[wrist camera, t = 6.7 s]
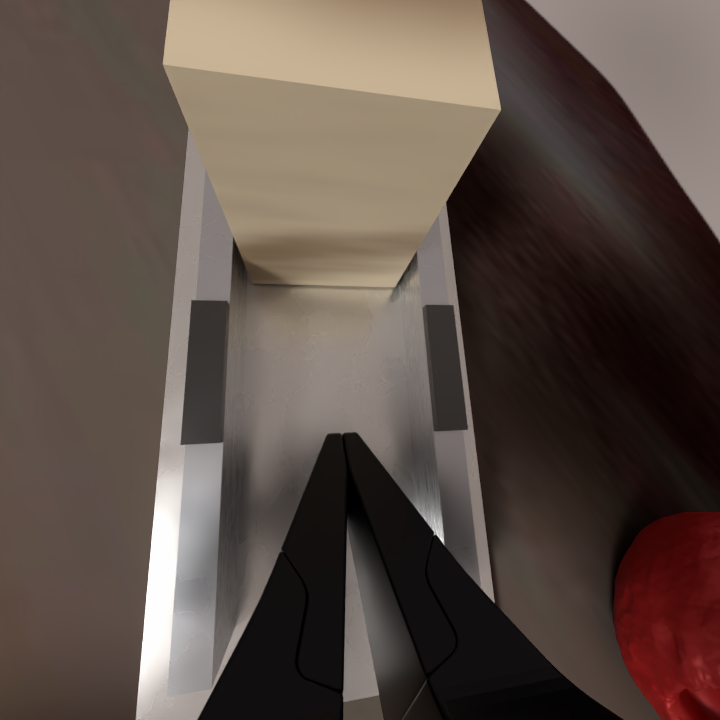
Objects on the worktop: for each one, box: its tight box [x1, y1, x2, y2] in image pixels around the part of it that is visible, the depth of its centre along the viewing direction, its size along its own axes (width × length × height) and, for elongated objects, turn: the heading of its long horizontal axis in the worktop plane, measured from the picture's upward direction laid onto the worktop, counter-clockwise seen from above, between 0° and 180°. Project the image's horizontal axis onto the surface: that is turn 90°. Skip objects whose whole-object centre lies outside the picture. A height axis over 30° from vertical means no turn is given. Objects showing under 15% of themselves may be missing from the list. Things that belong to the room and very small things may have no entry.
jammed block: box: [163, 0, 501, 287], centre depth 11 cm, size 6×7×9 cm
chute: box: [136, 130, 495, 720], centre depth 13 cm, size 26×14×4 cm, turn 3°
